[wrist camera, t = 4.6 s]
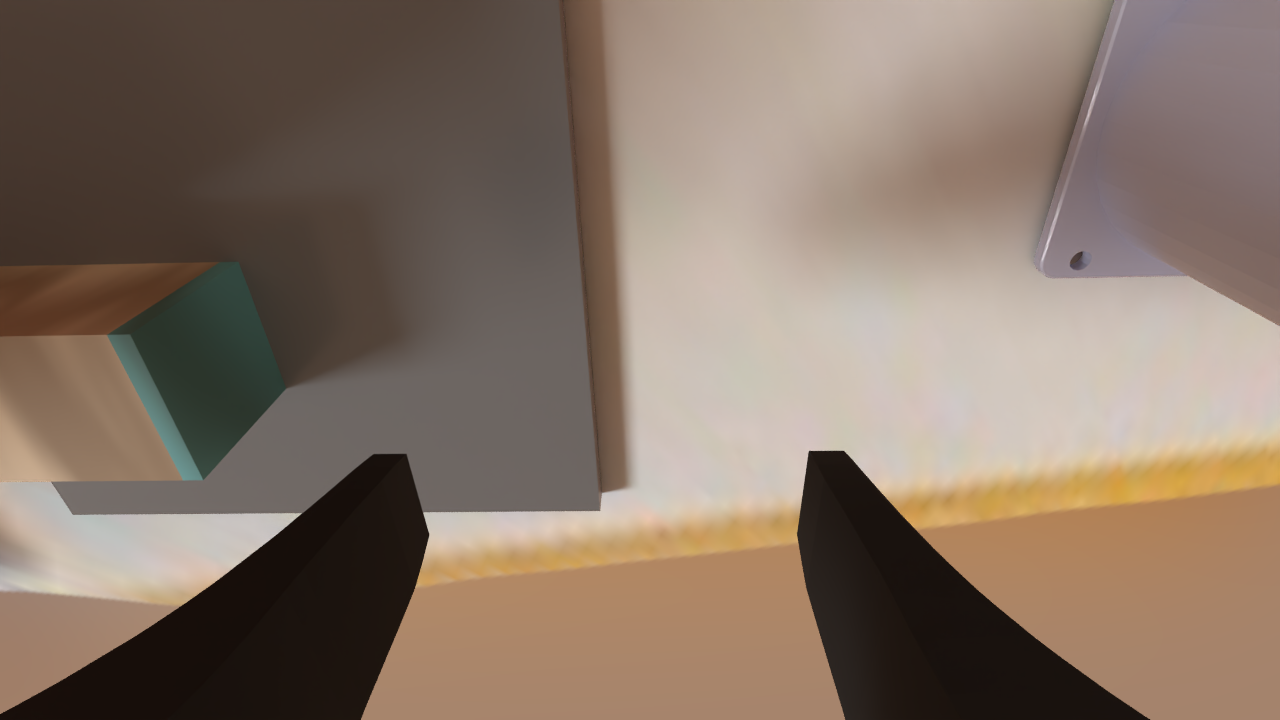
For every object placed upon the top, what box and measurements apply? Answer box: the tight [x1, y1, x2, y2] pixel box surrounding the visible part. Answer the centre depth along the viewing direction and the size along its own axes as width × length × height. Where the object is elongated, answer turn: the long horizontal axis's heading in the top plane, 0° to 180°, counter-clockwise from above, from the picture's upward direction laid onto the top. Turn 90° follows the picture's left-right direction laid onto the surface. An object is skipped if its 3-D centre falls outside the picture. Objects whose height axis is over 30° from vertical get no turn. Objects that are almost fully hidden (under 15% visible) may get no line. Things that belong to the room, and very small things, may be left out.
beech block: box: [0, 262, 286, 482], centre depth 16 cm, size 4×4×7 cm
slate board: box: [0, 0, 602, 515], centre depth 17 cm, size 18×16×1 cm
